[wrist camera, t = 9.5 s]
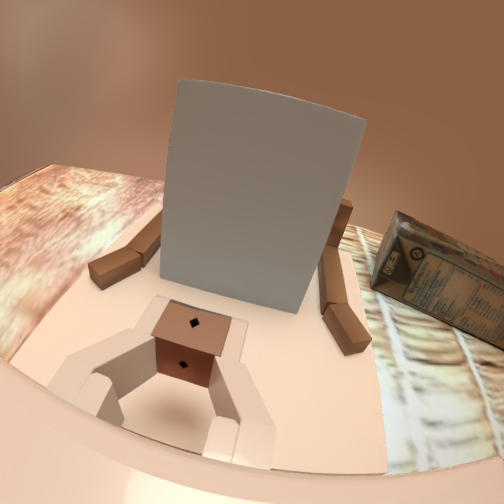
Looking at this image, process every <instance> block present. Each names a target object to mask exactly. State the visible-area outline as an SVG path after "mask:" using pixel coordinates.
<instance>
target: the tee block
mask: <svg viewBox="0 0 504 504" xmlns="http://www.w3.org/2000/svg"><path fill="white" fill-rule="evenodd" d="M366 123H367V120H364V119H362V118H359V117H356V116H353V115H350V114H348V113H345V112H342V111H338V110H335V109H332V108H328V107H325V106H322V105H319V104H315V103H311V102H308V101H304V100H302V99H298V98H294V97H290V96H286V95H282V94H277V93H273V92H269V91H264V90H258V89H252V88H247V87H241V86H236V85H230V84H223V83H216V82H209V81H201V80H192V79H179V81H178V86H177V92H176V98H175V105H174V110H173V117H172V124H171V132H170V139H169V147H168V155H167V164H166V174H165V185H164V196H163V210H162V226H161V246H160V278H162V279H165V280H168V281H172V282H175V283H179V284H182V285H185V286H189V287H192V288H196V289H200V290H203V291H207V292H210V293H214V294H218V295H221V296H225V297H229V298H233V299H236V300H240V301H244V302H248V303H252V304H256V305H260V306H264V307H268V308H272V309H276V310H280V311H284V312H288V313H293V314H297V313H298V311H299V308H300V306H301V304H302V301H303V299H304V296H305V294H306V292H307V289H308V287H309V284H310V282H311V279H312V277H313V275H314V272H315V270H316V267H317V265H318V262H319V259H320V257H321V254H322V252H323V249H324V247H325V244H326V241H327V239H328V236H329V233H330V231H331V228H332V225H333V223H334V220H335V217H336V214H337V212H338V209H339V206H340V203H341V200H342V197H343V194H344V192H345V189H346V186H347V183H348V180H349V177H350V174H351V171H352V168H353V165H354V162H355V159H356V155H357V152H358V149H359V146H360V142H361V139H362V136H363V133H364V130H365V126H366Z"/></svg>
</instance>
